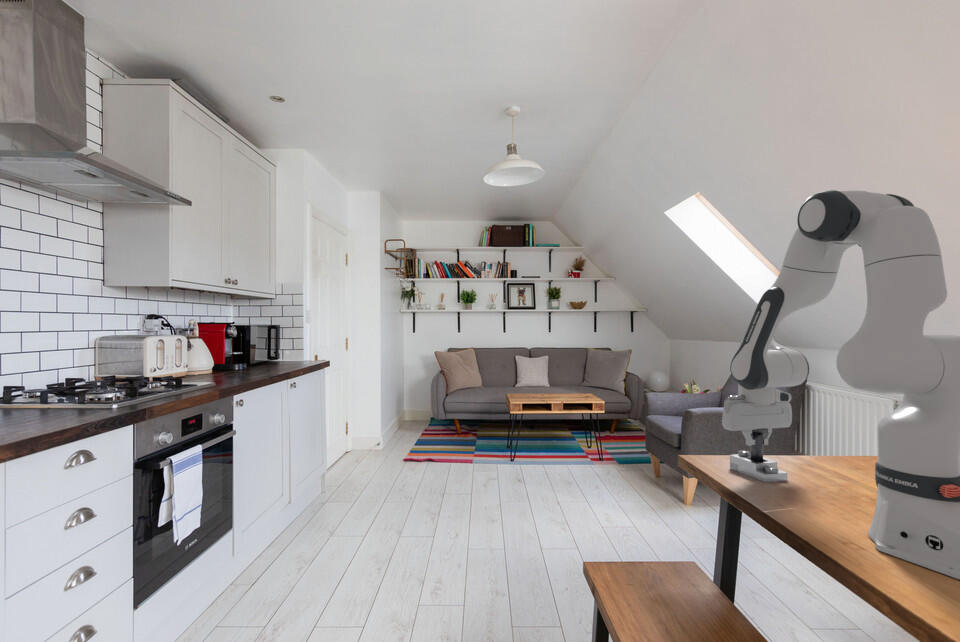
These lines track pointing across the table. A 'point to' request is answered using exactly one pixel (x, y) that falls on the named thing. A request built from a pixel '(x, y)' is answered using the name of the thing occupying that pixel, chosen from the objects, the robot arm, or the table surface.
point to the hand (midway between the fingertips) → (757, 445)
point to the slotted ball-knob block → (756, 467)
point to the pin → (757, 445)
